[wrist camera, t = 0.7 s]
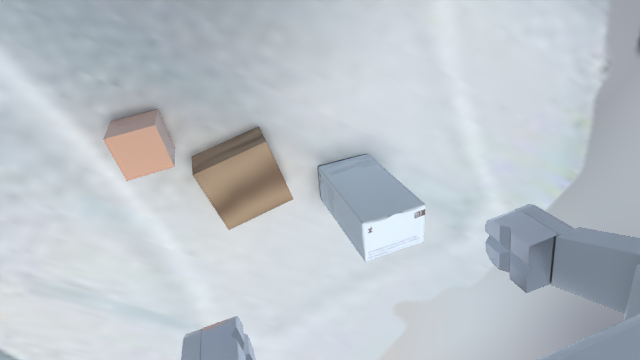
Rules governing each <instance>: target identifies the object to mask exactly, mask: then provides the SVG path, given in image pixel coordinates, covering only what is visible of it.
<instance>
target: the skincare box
mask: <svg viewBox="0 0 640 360" xmlns="http://www.w3.org/2000/svg"><path fill="white" fill-rule="evenodd" d="M318 171H319V182H320V192H321V200H322V201H323V203H324V204H325V206H326V207H327V208H328V210H329V211H330V213H331V214H332V215H333V217H334V218H335V220H336V221H337V222H338V224H339V225H340V227H341V228H342V230H343V231H344V232H345V234H346V235H347V237H348V238H349V240H350V241H351V242H352V244H353V245H354V247H355V248H356V249H357V251H358V252H359V254H360V255H361V256H362V258H363V259H364V261H365V262H366V261H369V260H372V259H375V258H378V257H381V256H384V255H386V254H389V253H392V252H395V251H398V250H401V249H404V248H407V247H410V246H413V245H416V244H419V243H422V242H423V238H424V223H425V207H426V205H425V203H423V202H422V201H421V200H420V199H419V198H418V197H416V196H415V195H414V194H413V193H412V192H411V191H410V190H408V189H407V188H406V187H405V186H404V185H403V184H402V183H400V182H399V181H398V180H397V179H396V178H395V177H394V176H392V175H391V174H390V173H389V172H388V171H387V170H386V169H384V168H383V167H382V166H381V165H380V164H379V163H378V162H376V161H375V160H374V159H373V158H372V157H371V156H370V155H368V154H366V155H362V156H358V157H354V158H350V159H346V160H342V161H338V162H334V163H331V164H327V165H323V166H319V167H318Z"/></svg>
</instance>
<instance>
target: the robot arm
mask: <svg viewBox="0 0 640 360" xmlns="http://www.w3.org/2000/svg"><path fill="white" fill-rule="evenodd" d="M485 231H486V232H487V233H488V234H489V237H488V239H487V241H486V252H487V254H488V256H489V259H490V260H491V261H492V263H493V264H494V265H495V266H496V267H497V268H498V269H500V270H502V271H506V272H509V276H510V279H511V280H512V281H513V282H514V283H515V284H516V285H517V286H519V287H520V288H521V289H522V290H523V291H524V292H525V293H528V292H530V291H533V290H536V289H538V288H541V287H544V286H546V285H549V284H551V285H552V286H555V287H558V288H560V289H563V290H565V291H568V292H570V293H573V294H575V295H578V296H581V297H583V298H586V299H588V300H591V301H593V302H596V303H599V304H601V305H604V306H606V307H609V308H611V309H614V310H617V311H619V312H622V313H624V314H625V315H624V320H623V321H622V322H620V323H618V324H615V325H613V326H611V327H609V328H606V329H604V330H602V331H600V332H597V333H595V334H594V335H591V336H589V337H586V338H584V339H582V340H580V341H578V342H575V343H573V344H571V345H569V346H566V347H564V348H562V349H560V350H558V351H555V352H553V353H551V354H549V355H546V356H544V357H542V358H540V359H538V360H640V238H635V237H630V236H625V235H619V234H614V233H608V232H602V231H597V230H591V229H586V228H581V227H579V228H576V229H575V228H573V227H571V226H569V225H568V224H566V223H564V222H563V221H561V220H559V219H557V218H556V217H554V216H552V215H550V214H549V213H547V212H545V211H544V210H542V209H540V208H539V207H537V206H535V205H532V204H528V205H525V206H523V207H520V208H518V209H515V210H513V211H511V212H508V213H505V214H503V215H500V216H498V217H495V218H493V219H490V220H488V221H487V222H486V225H485ZM181 360H255V355H254V351H253V347H252V344H251V342H250V339H249V337H248V335H246V334H244V333H243V325H242V323H241V321H240V319H239V317H237V316H236V317H233V318H230V319H227V320H224V321H221V322H219V323H216V324H213V325H210V326H207V327H204V328H203V329H200V330H197V331H194V332H191V333H189V334H186V335H185V337H184V339H183V346H182V356H181Z"/></svg>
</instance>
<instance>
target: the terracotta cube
mask: <svg viewBox="0 0 640 360" xmlns="http://www.w3.org/2000/svg"><path fill="white" fill-rule="evenodd" d="M103 140H104V142H105V143H106V145H107V147H108V149H109V151H110V152H111V154H112V156H113V158H114V159H115V161H116V163H117V165H118V166H119V168H120V170H121V172H122V173H123V175H124V177H125V179H126V180H127V181H128V180H132V179H135V178H138V177H142V176H145V175H148V174H152V173H155V172H158V171H162V170H165V169H168V168H172V167H174V164H175V147H174V144H173V142H172V140H171V138H170V136H169V133H168V131H167V129H166V127H165V124H164V122H163V120H162V118H161V115H160V113H159V111H158V109H156V110H152V111H149V112H145V113H141V114H138V115H134V116H130V117H127V118H123V119H119V120H115V121H112V122H111V123H110V125H109V128H108V130H107V132H106V134H105V137H104V139H103Z"/></svg>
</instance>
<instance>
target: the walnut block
mask: <svg viewBox="0 0 640 360" xmlns="http://www.w3.org/2000/svg"><path fill="white" fill-rule="evenodd" d="M192 170H193V176H194V178H195V179H196V181H197V182H198V184H199V185H200V187H201V188H202V190H203V191H204V193H205V194H206V196H207V197H208V199H209V200H210V202H211V204H212V205H213V207H214V208H215V210H216V211H217V213H218V214H219V216H220V217H221V219H222V220H223V222H224V223H225V225H226V226H227V228H228V229H229V230H230V229H232V228H234V227H236V226H238V225H240V224H242V223H245V222H247V221H249V220H251V219H253V218H255V217H257V216H259V215H261V214H263V213H265V212H267V211H270V210H272V209H274V208H276V207H278V206H280V205H282V204H284V203H286V202H288V201H290V200H293V197H292V195H291V193H290V191H289V189H288V187H287V184H286V182H285V180H284V178H283V176H282V174H281V172H280V170H279V168H278V165H277V163H276V161H275V159H274V157H273V155H272V153H271V151H270V149H269V146H268V144H267V142H266V140H265V138H264V136H263V134H262V132H261V130H260V128H259V127H256V128H254V129H252V130H250V131H248V132H245V133H243V134H241V135H239V136H237V137H234V138H232V139H230V140H228V141H226V142H223V143H221V144H219V145H217V146H214V147H212V148H210V149H208V150H206V151H203V152H201V153H199V154H197V155H195V156H192Z"/></svg>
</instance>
